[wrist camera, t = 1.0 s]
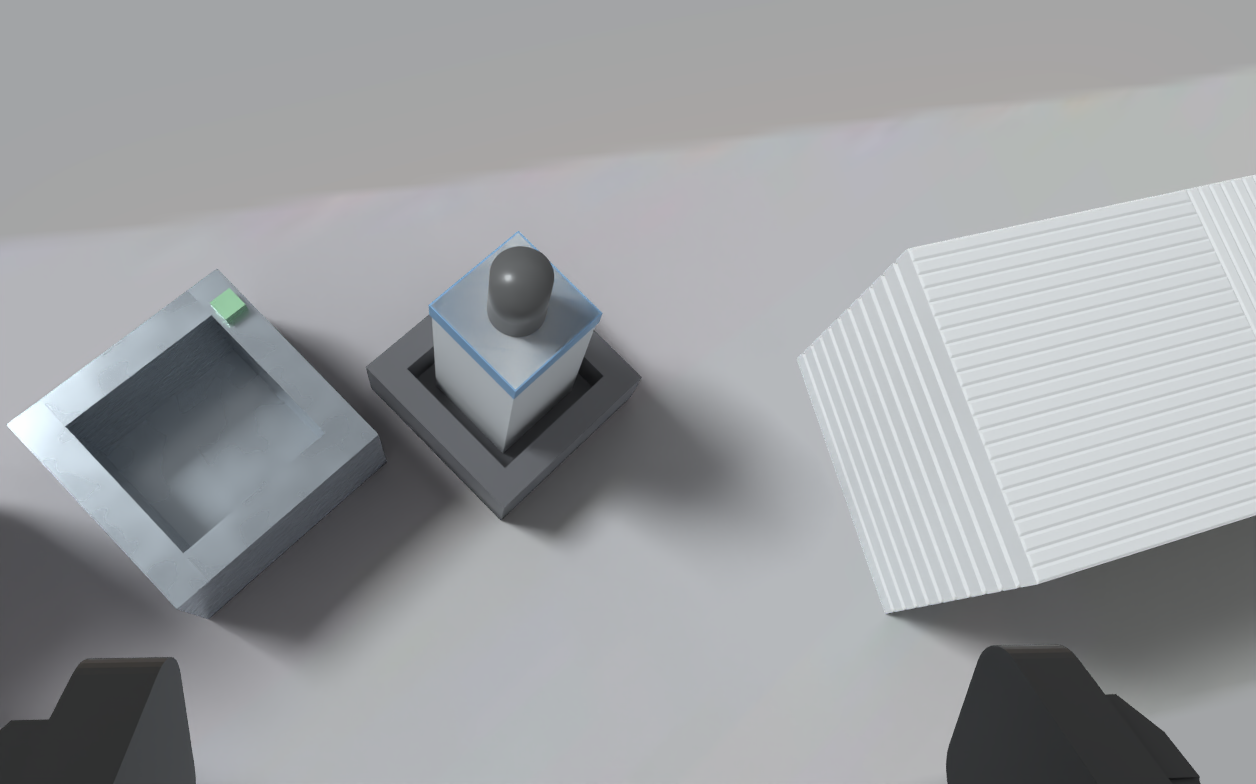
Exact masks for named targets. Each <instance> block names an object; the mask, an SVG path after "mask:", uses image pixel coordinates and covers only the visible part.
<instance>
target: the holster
mask: <svg viewBox="0 0 1256 784" xmlns="http://www.w3.org/2000/svg"><path fill="white" fill-rule="evenodd" d="M366 369H367V373H368V377H369V380H370V384H371V388H372V389H373V390H374V391H375V392H376V393H377V394H378V395H379V396H380V397H381V398H382V399H383V400H384V401H385V402H386V403H387V404H388V406H389V407H390V408H391V409H392V410H393V411H394V412H395V413H396V414H397V415H398V416H399V417H400V418H401V419H402V420H403V421H404V422H405V423H406V424H407V425H408V426H409V427H410V428H411V429H412V430H413V431H414V432H415V433H416V434H417V435H418V436H419V437H420V438H421V439H422V440H423V441H424V442H425V443H426V444H427V445H428V446H429V447H430V448H431V449H432V450H433V452H434V453H435V454H436V455H437V456H438V457H439V458H440V459H441V460H442V461H443V462H444V463H445V464H446V465H447V466H448V467H449V468H450V469H451V470H452V471H453V472H454V473H455V474H456V475H457V476H458V477H459V478H460V479H461V480H462V481H463V482H464V483H465V484H466V485H467V486H468V487H469V488H470V489H471V490H472V491H473V492H474V493H475V494H476V495H477V496H478V498H479V499H480V500H481V501H482V502H483V503H484V504H485V505H486V506H487V507H488V508H489V509H490V510H491V511H492V512H493V513H494V514H495V515H496V516H497V517H498V518H499V519H500V520H502V519H503V518H504V517H505V516H506V515H507V514H508V513H509V512H510V511H511V510H512V509H513V508H514V507H515V506H516V505H518V504H519V503H520V502H521V501H522V500H523V499H524V498H525V497H526V496H527V495H528V494H529V493H530V492H531V491H532V490H533V489H534V488H535V487H536V486H537V485H538V484H540V483H541V482H542V481H543V480H544V479H545V478H546V477H547V476H548V475H549V474H550V473H551V472H552V471H553V470H554V469H555V468H556V467H557V466H558V465H559V464H561V463H562V462H563V461H564V460H565V459H566V458H567V457H568V456H569V455H570V454H571V453H572V452H573V451H574V450H575V449H576V448H577V447H578V446H579V445H580V444H582V443H583V442H584V441H585V440H586V439H587V438H588V437H589V436H590V435H591V434H592V433H593V432H594V431H595V430H596V429H597V428H598V427H599V426H600V425H601V424H603V423H604V422H605V421H606V420H607V419H608V418H609V417H610V416H611V415H612V414H613V413H614V412H615V411H616V410H617V409H618V408H619V407H620V406H621V405H622V404H624V403H625V402H626V401H627V400H628V399H629V398H630V397H631V395H632V393H633V392H634V390H635V388H636V386H637V385H638V383H639V381H640V379H641V378H642V377H641V376H640V375H639V374H638V373H637V372H636V371H635V370H634V369H633V368H632V367H631V366H630V365H629V364H628V363H627V362H626V361H624V360H623V359H622V358H621V357H620V356H619V355H618V354H617V353H616V352H615V351H614V350H613V349H612V348H611V347H610V346H609V345H608V344H607V343H606V342H605V341H604V340H603V339H602V338H601V337H600V336H599V335H598V334H597V333H596V332H595V331H593V334H592V336H591V339H590V342H589V344H588V347H587V350H586V352H585V355H584V358H583V360H582V363H581V366H580V368H579V371H578V374H577V376H576V379H575V382H574V384H573V387H572V390H571V391H570V392H569V393H568V394H567V395H566V396H565V397H564V398H562V399H561V400H560V401H559V402H558V403H557V404H556V405H555V406H554V407H553V408H552V409H551V410H549V411H548V412H547V413H546V414H545V415H544V416H543V417H542V418H541V419H540V420H539V421H538V422H536V423H535V424H534V425H533V426H532V427H531V428H530V429H529V430H528V431H527V432H526V433H525V434H523V435H522V436H521V437H520V438H519V439H518V440H517V441H516V442H515V443H514V444H513V445H512V446H510V447H509V448H508V449H507V450H506V451H505V452H504V453H502V452H501V451H500V450H499V449H498V448H497V447H496V446H495V445H494V444H493V443H492V442H491V441H490V440H489V439H488V438H487V437H486V436H485V435H484V434H483V433H482V432H481V431H480V430H479V429H478V428H477V427H476V426H475V424H474V423H473V422H472V421H471V420H470V419H469V418H468V417H467V416H466V415H465V414H464V413H463V412H462V411H461V410H460V409H459V408H458V407H457V406H456V405H455V404H454V403H453V402H452V401H451V400H450V399H449V398H448V397H447V396H446V395H445V394H444V393H443V392H442V391H441V390H440V389H439V388H438V387H437V386H436V374H435V358H434V343H433V327H432V317H431V316H430V315H428V316H427V317H426V318H424V319H423V320H422V321H421V322H420V323H418V324H417V325H416V326H415V327H414V328H412V329H411V330H410V331H409V332H408V333H406V334H405V335H404V336H403V337H402V338H400V339H399V340H398V341H397V342H396V343H394V344H393V345H392V346H391V347H390V348H388V349H387V350H386V351H385V352H384V353H382V354H381V355H380V356H379V357H378V358H376V359H375V360H374V361H373V362H372V363H370V364H369V365H368V366H367V367H366Z"/></svg>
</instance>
